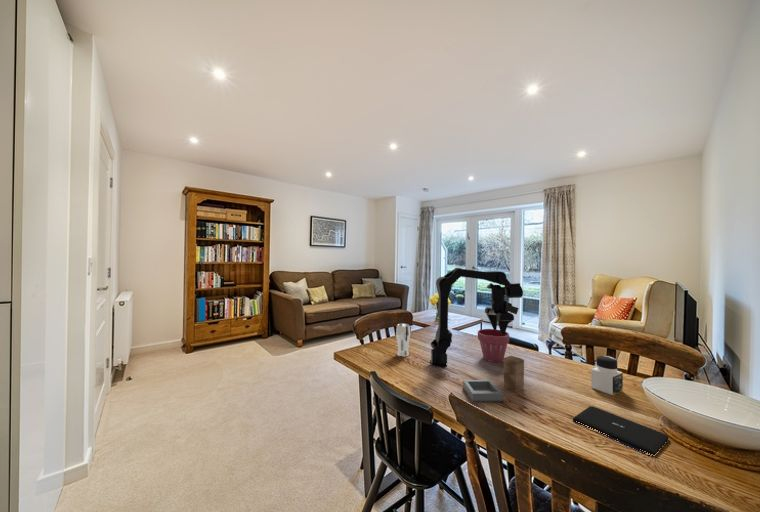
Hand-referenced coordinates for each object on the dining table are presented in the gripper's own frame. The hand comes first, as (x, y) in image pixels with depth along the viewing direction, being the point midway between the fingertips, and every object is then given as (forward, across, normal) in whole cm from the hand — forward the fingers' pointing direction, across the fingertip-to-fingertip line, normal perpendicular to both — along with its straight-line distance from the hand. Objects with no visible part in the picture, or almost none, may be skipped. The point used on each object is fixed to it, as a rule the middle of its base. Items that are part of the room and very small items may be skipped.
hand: (498, 332), depth 130 cm
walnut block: (+15, -23, +4) cm, 28 cm away
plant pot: (+15, +7, 0) cm, 16 cm away
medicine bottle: (+16, -24, -30) cm, 41 cm away
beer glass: (+14, +11, +44) cm, 47 cm away
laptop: (+17, -49, -14) cm, 53 cm away
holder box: (+15, -29, +18) cm, 37 cm away
